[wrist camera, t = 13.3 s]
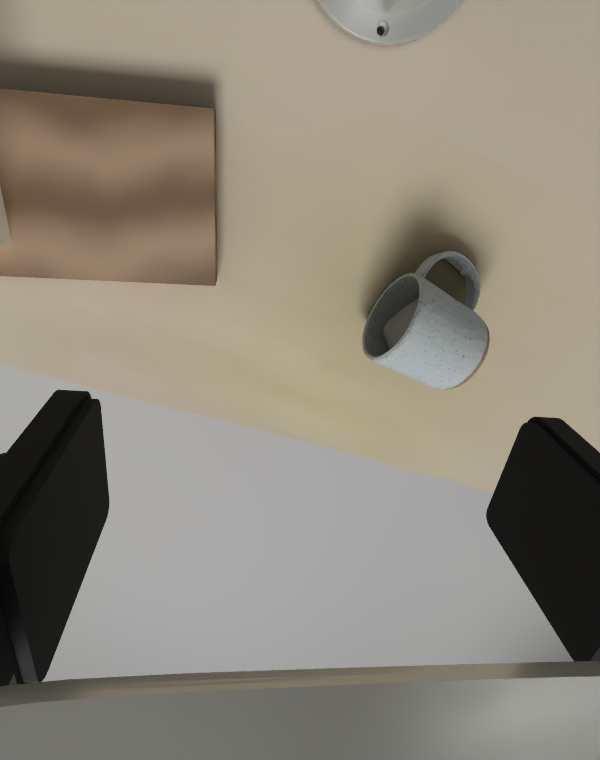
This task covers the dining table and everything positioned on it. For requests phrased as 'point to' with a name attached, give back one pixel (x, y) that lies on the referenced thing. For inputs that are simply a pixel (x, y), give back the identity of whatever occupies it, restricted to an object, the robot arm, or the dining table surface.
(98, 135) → the shelf board
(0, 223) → the carton
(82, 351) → the dining table surface
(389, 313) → the ceramic mug
